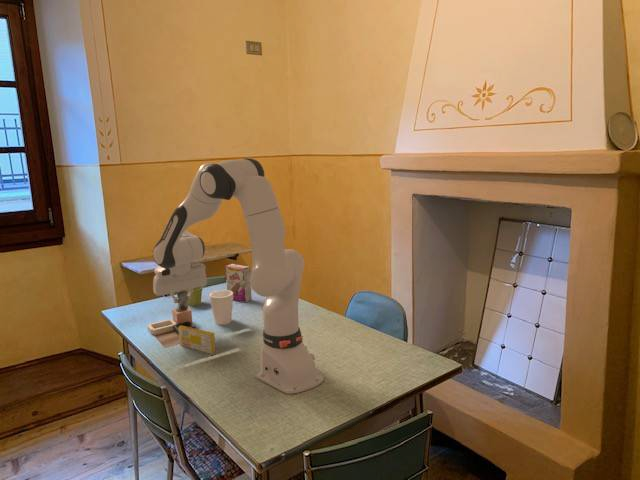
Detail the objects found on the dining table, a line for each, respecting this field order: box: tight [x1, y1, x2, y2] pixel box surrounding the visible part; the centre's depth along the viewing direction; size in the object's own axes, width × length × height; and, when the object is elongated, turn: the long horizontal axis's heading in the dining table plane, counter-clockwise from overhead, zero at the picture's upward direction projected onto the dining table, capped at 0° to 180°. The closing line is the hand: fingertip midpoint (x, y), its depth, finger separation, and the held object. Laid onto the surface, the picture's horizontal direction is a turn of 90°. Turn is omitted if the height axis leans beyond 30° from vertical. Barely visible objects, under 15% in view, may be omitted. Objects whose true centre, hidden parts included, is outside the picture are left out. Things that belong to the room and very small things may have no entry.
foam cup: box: [209, 289, 234, 326], centre depth 192 cm, size 10×9×13 cm
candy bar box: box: [225, 263, 253, 304], centre depth 220 cm, size 11×5×16 cm, turn 58°
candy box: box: [178, 325, 216, 357], centre depth 169 cm, size 16×2×8 cm, turn 60°
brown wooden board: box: [152, 321, 199, 349], centre depth 184 cm, size 22×16×3 cm
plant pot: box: [186, 286, 204, 307], centre depth 215 cm, size 9×9×9 cm
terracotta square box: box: [171, 307, 194, 325], centre depth 191 cm, size 6×6×6 cm
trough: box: [146, 318, 177, 336], centre depth 187 cm, size 8×10×2 cm
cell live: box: [176, 290, 189, 310], centre depth 182 cm, size 4×4×8 cm
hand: (182, 301), depth 183 cm, fingers closed on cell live, 4 cm apart
